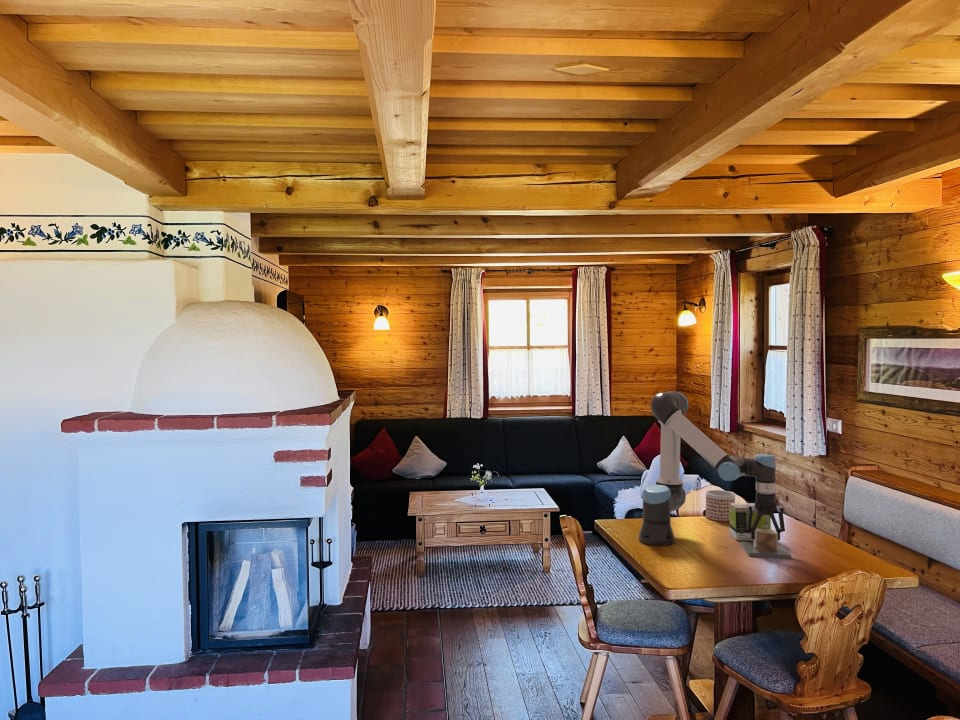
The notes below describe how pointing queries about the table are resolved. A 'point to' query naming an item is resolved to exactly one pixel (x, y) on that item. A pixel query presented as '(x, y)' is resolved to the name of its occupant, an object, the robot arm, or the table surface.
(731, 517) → the tea box
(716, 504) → the planter
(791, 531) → the table surface
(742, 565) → the table surface
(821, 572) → the table surface
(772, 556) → the slate board
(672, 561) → the table surface
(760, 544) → the walnut cube
